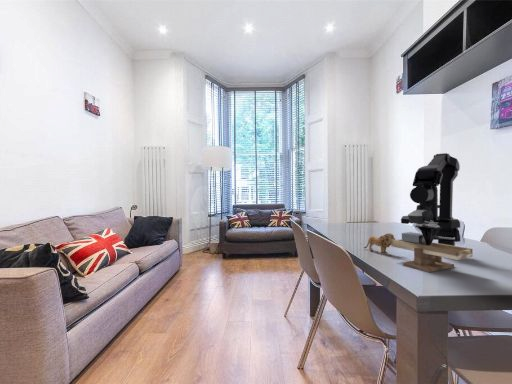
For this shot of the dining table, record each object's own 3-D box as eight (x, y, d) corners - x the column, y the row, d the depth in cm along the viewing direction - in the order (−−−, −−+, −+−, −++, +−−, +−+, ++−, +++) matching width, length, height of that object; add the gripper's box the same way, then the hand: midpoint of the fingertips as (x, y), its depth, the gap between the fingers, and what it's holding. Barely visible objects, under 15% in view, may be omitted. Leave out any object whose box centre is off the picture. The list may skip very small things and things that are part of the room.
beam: (405, 244, 119) (405, 237, 119) (472, 256, 96) (472, 248, 96) (391, 246, 115) (390, 239, 115) (457, 259, 93) (457, 251, 93)
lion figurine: (397, 254, 125) (397, 233, 125) (390, 256, 122) (390, 234, 122) (366, 248, 137) (366, 229, 137) (360, 250, 134) (360, 230, 134)
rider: (410, 243, 115) (410, 232, 115) (427, 246, 108) (427, 234, 108) (401, 244, 113) (401, 233, 113) (418, 247, 106) (418, 235, 106)
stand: (427, 260, 114) (427, 242, 113) (454, 266, 105) (454, 247, 104) (402, 265, 108) (402, 246, 107) (428, 272, 98) (428, 251, 98)
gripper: (390, 202, 110) (391, 243, 110) (440, 204, 94) (440, 252, 94) (410, 201, 115) (410, 240, 115) (461, 203, 98) (461, 249, 99)
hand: (428, 245), depth 106 cm, fingers closed
